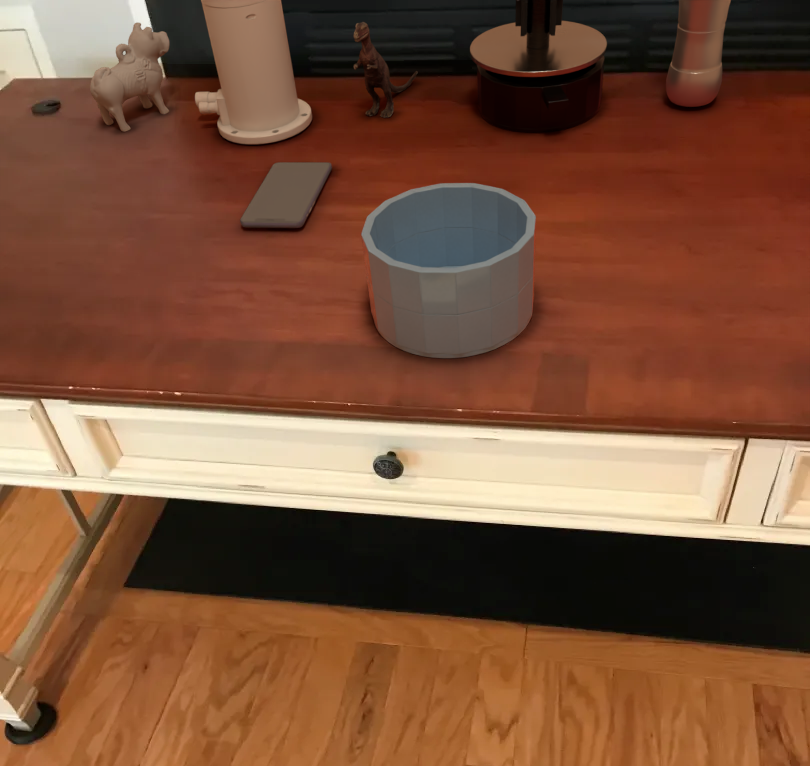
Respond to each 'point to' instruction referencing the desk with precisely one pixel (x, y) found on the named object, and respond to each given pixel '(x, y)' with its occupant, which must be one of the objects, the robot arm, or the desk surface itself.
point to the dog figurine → (132, 75)
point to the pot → (450, 268)
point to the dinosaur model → (376, 72)
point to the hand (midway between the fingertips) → (538, 30)
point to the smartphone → (286, 195)
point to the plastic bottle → (697, 53)
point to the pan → (540, 99)
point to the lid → (538, 46)
